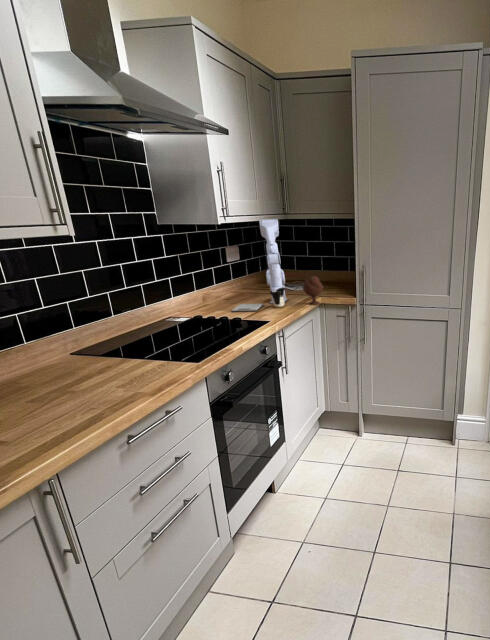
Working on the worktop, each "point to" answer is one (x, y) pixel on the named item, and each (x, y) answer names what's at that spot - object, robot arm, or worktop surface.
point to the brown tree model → (313, 288)
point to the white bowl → (280, 301)
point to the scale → (247, 308)
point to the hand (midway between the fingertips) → (278, 303)
